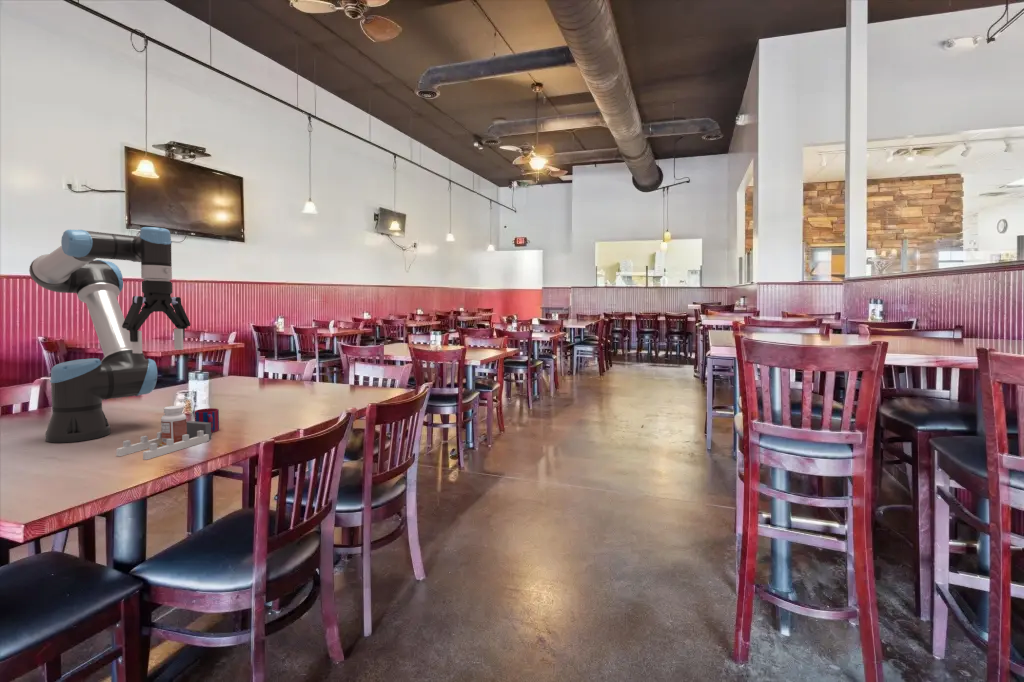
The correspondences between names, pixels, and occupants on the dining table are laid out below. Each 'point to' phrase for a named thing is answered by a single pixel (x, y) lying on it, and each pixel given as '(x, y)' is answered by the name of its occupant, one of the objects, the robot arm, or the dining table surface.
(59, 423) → the robot arm
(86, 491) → the dining table surface
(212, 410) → the mug
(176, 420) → the pill bottle
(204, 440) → the comb channel
